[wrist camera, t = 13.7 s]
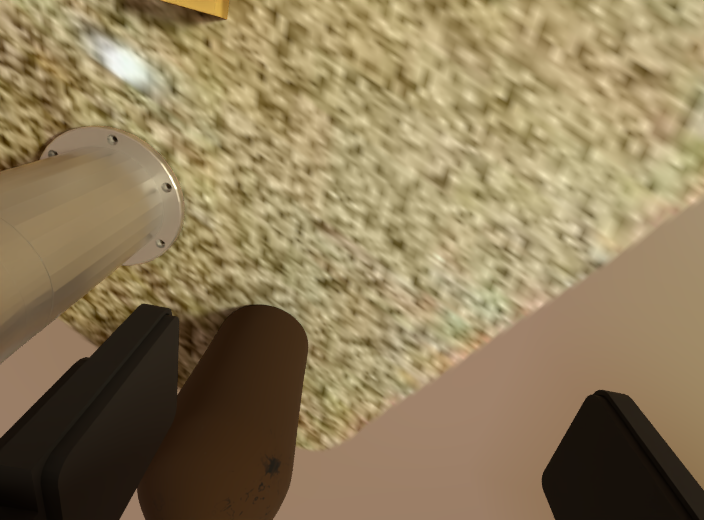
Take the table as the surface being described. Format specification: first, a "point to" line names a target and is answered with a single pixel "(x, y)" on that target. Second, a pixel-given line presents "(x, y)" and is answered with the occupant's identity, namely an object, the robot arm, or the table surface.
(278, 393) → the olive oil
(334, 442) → the table surface
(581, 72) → the table surface
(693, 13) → the table surface
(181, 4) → the orange block
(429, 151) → the table surface
